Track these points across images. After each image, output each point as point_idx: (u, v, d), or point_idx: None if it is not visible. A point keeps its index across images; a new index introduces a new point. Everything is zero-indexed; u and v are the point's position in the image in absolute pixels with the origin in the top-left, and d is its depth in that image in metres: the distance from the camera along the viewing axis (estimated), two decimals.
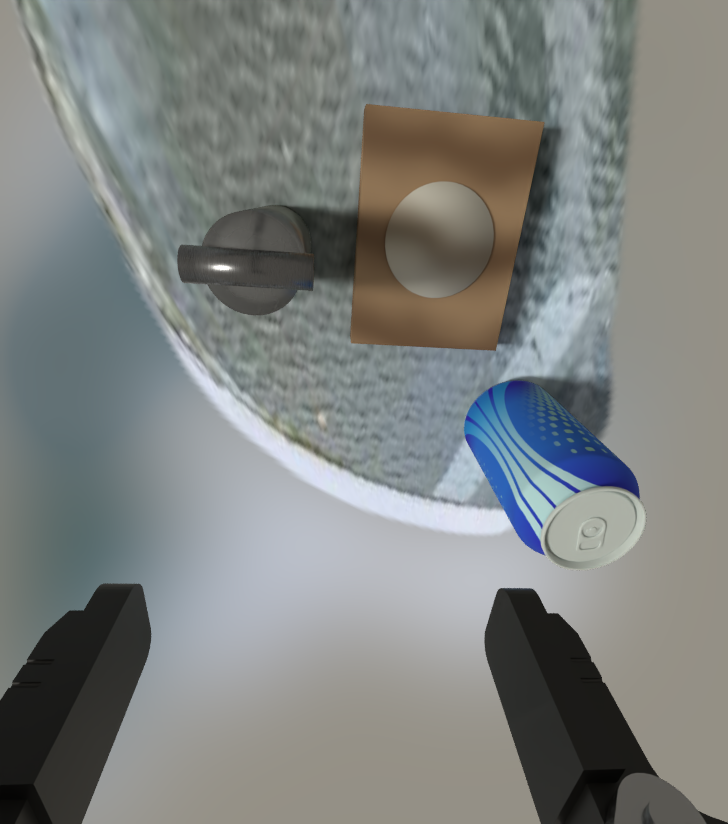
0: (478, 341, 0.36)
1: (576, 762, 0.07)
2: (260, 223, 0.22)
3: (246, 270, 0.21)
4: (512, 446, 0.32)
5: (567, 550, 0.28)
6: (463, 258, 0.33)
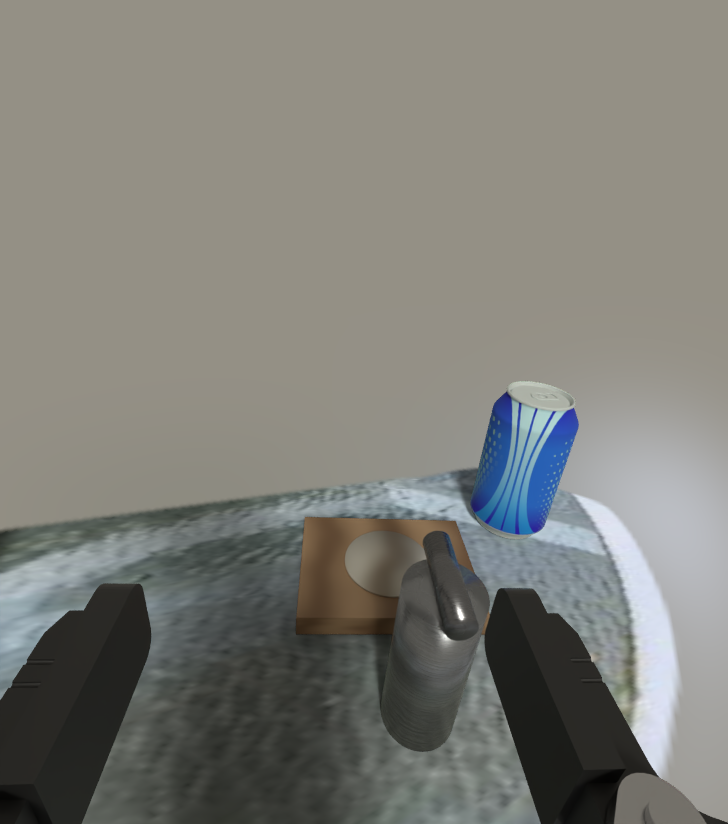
0: (452, 531, 0.46)
1: (576, 762, 0.07)
2: (409, 584, 0.26)
3: (449, 569, 0.25)
4: (515, 464, 0.44)
5: (562, 402, 0.44)
6: (395, 545, 0.43)
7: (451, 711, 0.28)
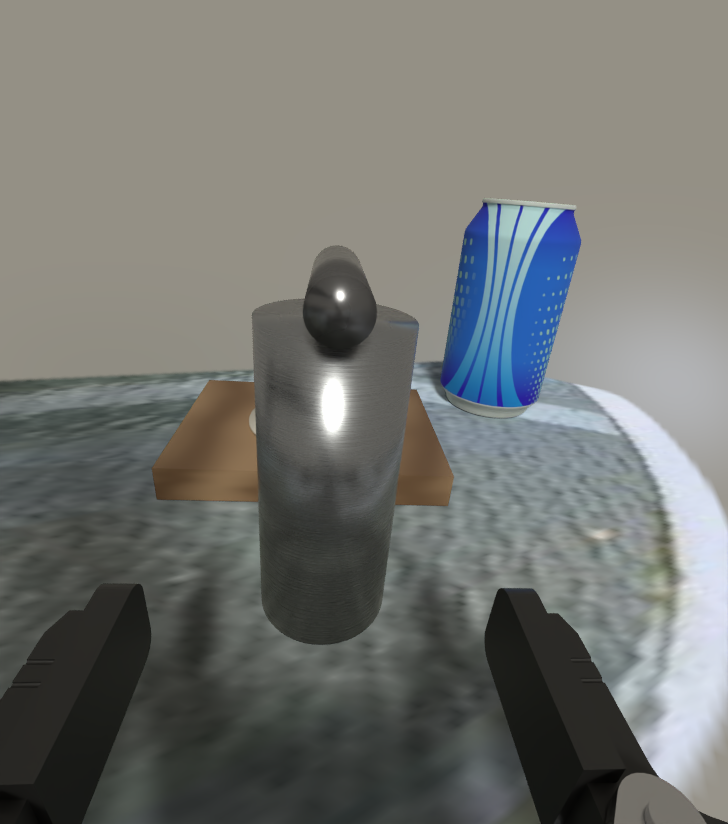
0: (411, 397, 0.34)
1: (576, 762, 0.07)
2: (272, 309, 0.14)
3: (339, 257, 0.13)
4: (495, 296, 0.32)
5: None
6: None
7: (362, 562, 0.16)
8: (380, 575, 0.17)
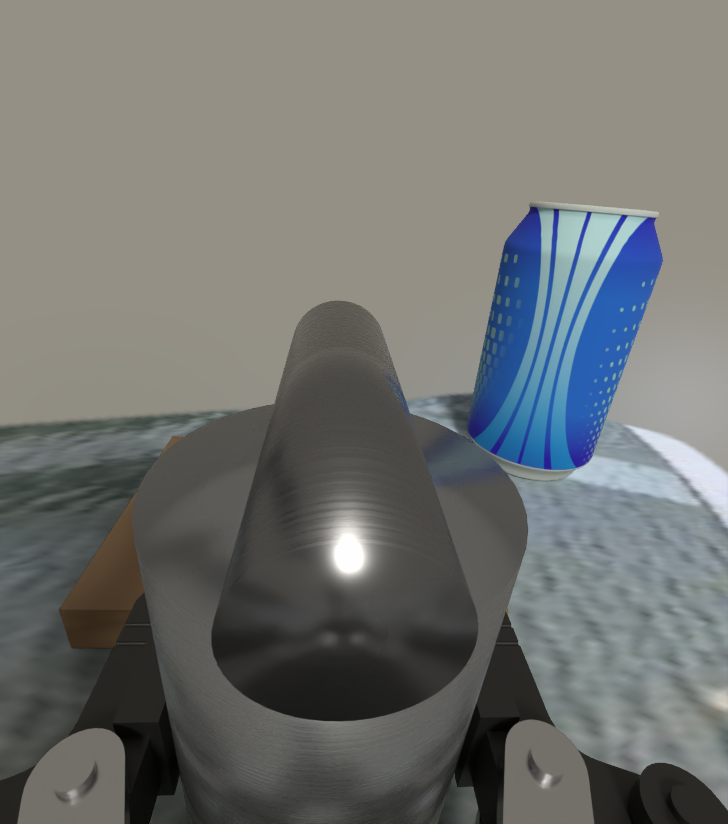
0: None
1: (477, 712, 0.07)
2: (196, 455, 0.07)
3: (342, 358, 0.05)
4: (547, 332, 0.24)
5: None
6: None
7: None
8: None
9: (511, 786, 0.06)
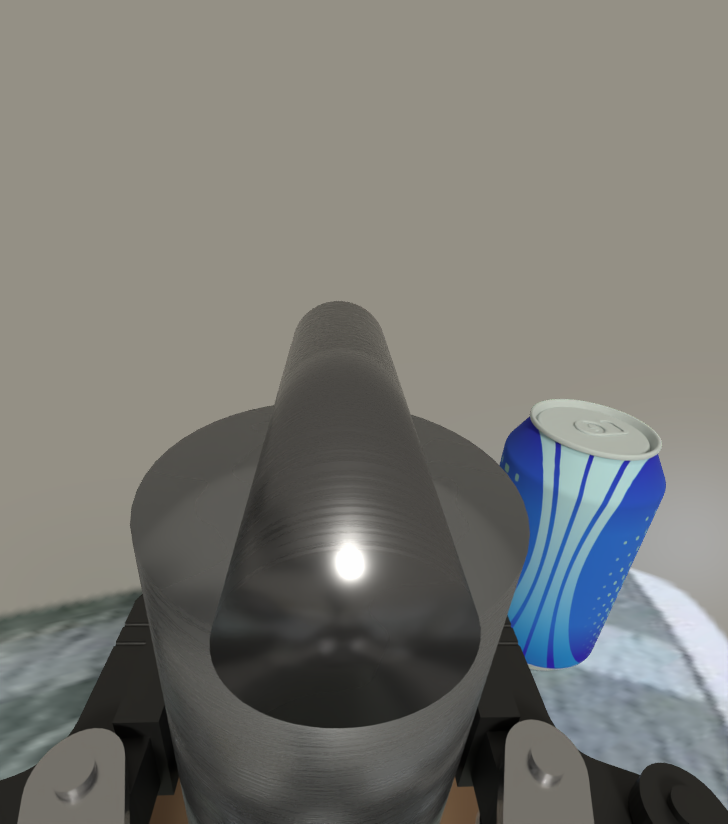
0: None
1: (477, 712, 0.07)
2: (196, 456, 0.06)
3: (342, 359, 0.05)
4: (550, 556, 0.24)
5: (634, 439, 0.23)
6: None
7: None
8: None
9: (511, 786, 0.06)
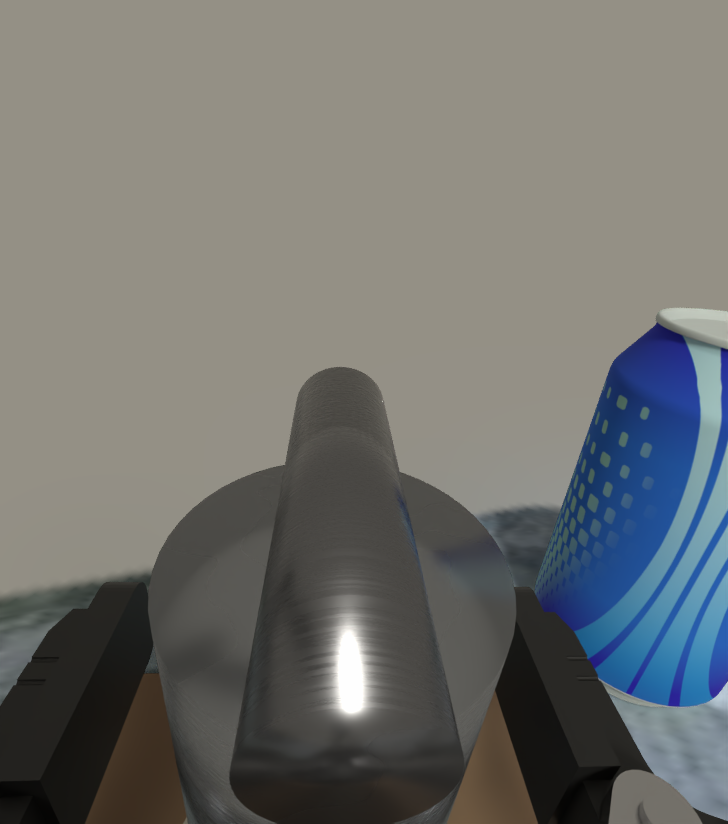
0: None
1: (572, 759, 0.07)
2: (206, 529, 0.07)
3: (345, 454, 0.06)
4: (701, 536, 0.15)
5: None
6: None
7: None
8: None
9: None
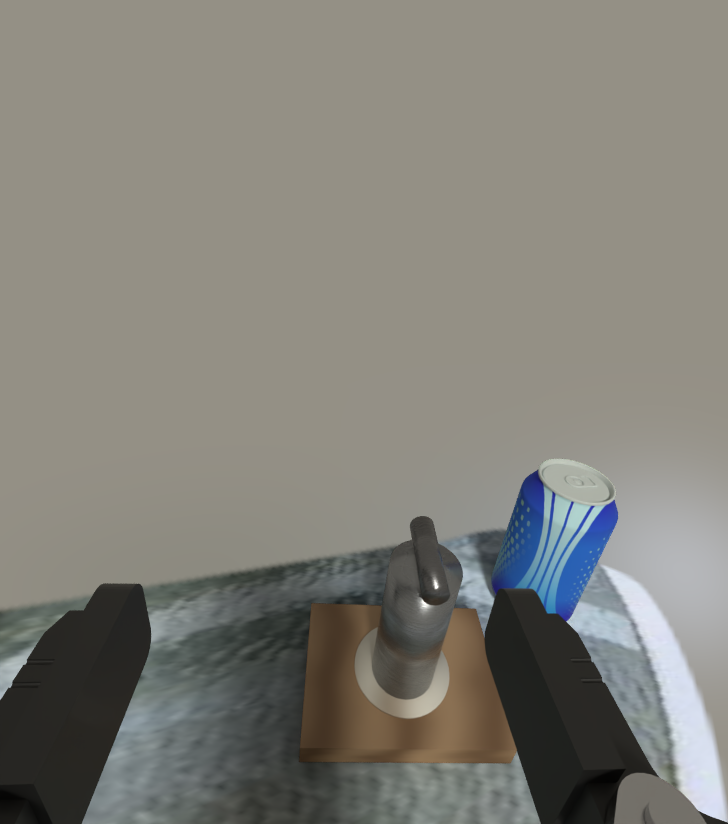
0: (473, 623, 0.42)
1: (576, 762, 0.07)
2: (396, 559, 0.32)
3: (430, 548, 0.31)
4: (546, 557, 0.40)
5: (600, 490, 0.39)
6: None
7: (429, 666, 0.33)
8: (435, 667, 0.35)
9: None
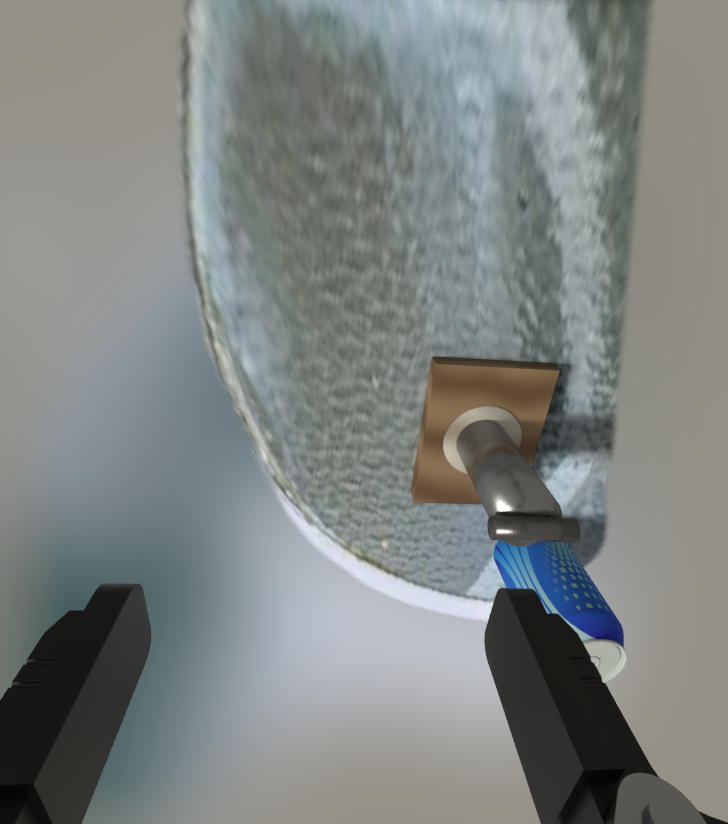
0: None
1: (576, 762, 0.07)
2: (541, 499, 0.33)
3: (538, 536, 0.33)
4: None
5: None
6: None
7: (468, 473, 0.42)
8: None
9: None
